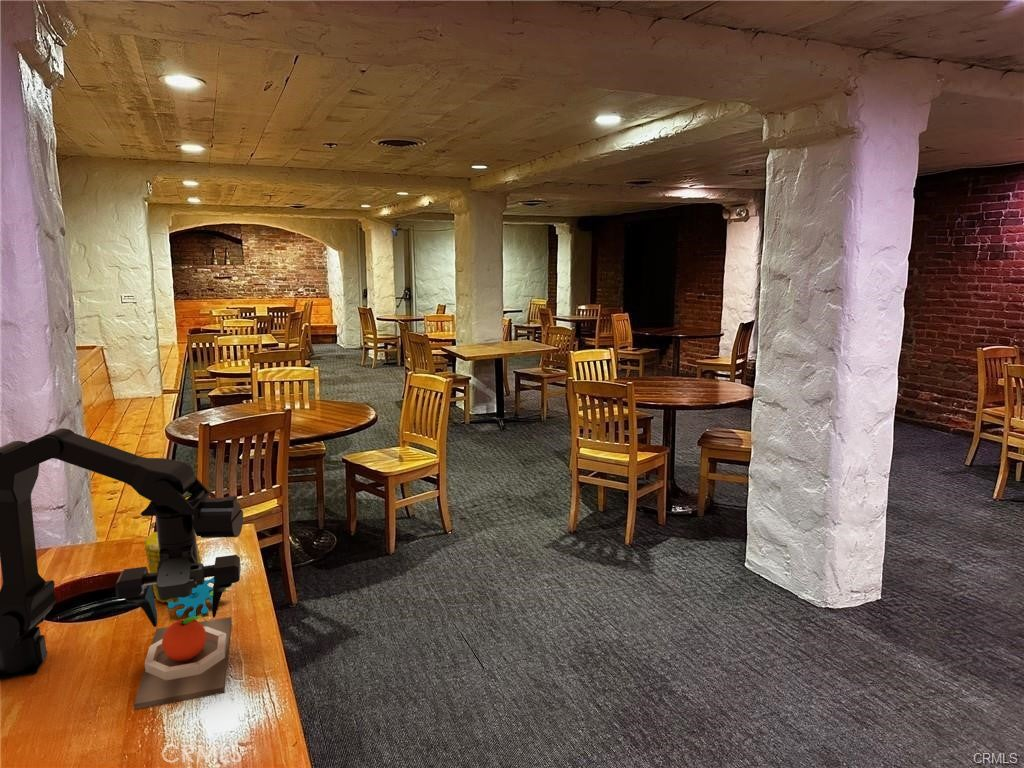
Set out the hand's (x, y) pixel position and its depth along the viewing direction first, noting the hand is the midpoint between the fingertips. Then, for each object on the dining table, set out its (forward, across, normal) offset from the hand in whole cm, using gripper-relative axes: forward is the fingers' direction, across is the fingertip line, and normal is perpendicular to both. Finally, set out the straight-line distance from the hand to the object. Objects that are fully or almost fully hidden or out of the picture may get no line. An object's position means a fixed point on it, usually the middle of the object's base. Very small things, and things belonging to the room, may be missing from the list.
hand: (185, 621), depth 115 cm
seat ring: (+8, 0, 0) cm, 8 cm away
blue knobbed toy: (+8, 0, +18) cm, 20 cm away
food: (+8, -5, +25) cm, 27 cm away
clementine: (+7, 0, 0) cm, 7 cm away
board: (+8, 0, 0) cm, 8 cm away
